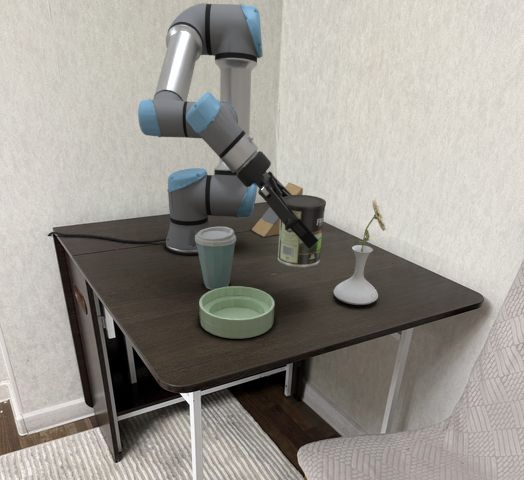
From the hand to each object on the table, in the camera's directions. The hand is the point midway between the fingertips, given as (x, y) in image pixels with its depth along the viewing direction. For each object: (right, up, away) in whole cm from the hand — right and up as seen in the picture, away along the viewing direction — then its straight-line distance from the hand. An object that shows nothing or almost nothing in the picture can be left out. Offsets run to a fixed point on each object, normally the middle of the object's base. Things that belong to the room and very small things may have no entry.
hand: (313, 236), depth 112 cm
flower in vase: (+13, -13, +14) cm, 23 cm away
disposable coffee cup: (-24, -9, +17) cm, 31 cm away
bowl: (-18, -20, +1) cm, 27 cm away
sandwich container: (-7, +16, +58) cm, 61 cm away
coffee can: (-3, -5, +3) cm, 7 cm away
